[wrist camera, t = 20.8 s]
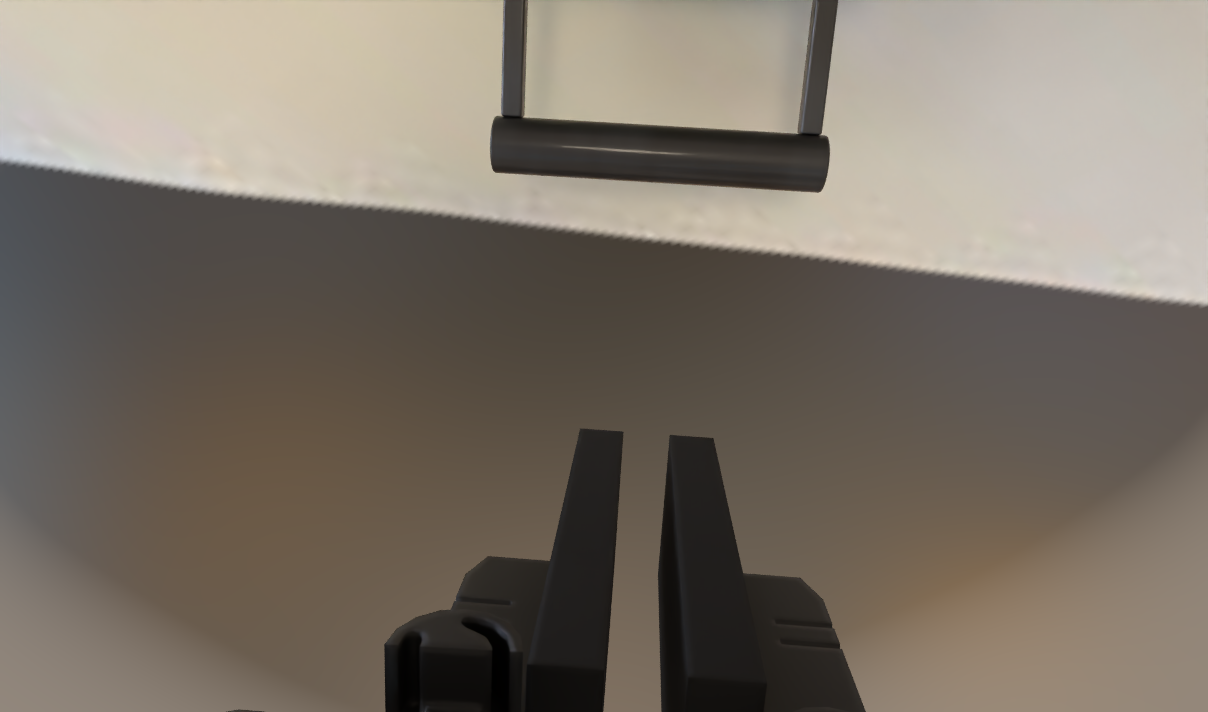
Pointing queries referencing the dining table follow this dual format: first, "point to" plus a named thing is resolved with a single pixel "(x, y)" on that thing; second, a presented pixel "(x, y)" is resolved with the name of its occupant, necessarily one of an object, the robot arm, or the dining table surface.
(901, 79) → the dining table surface
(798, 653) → the robot arm
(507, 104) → the drawer
